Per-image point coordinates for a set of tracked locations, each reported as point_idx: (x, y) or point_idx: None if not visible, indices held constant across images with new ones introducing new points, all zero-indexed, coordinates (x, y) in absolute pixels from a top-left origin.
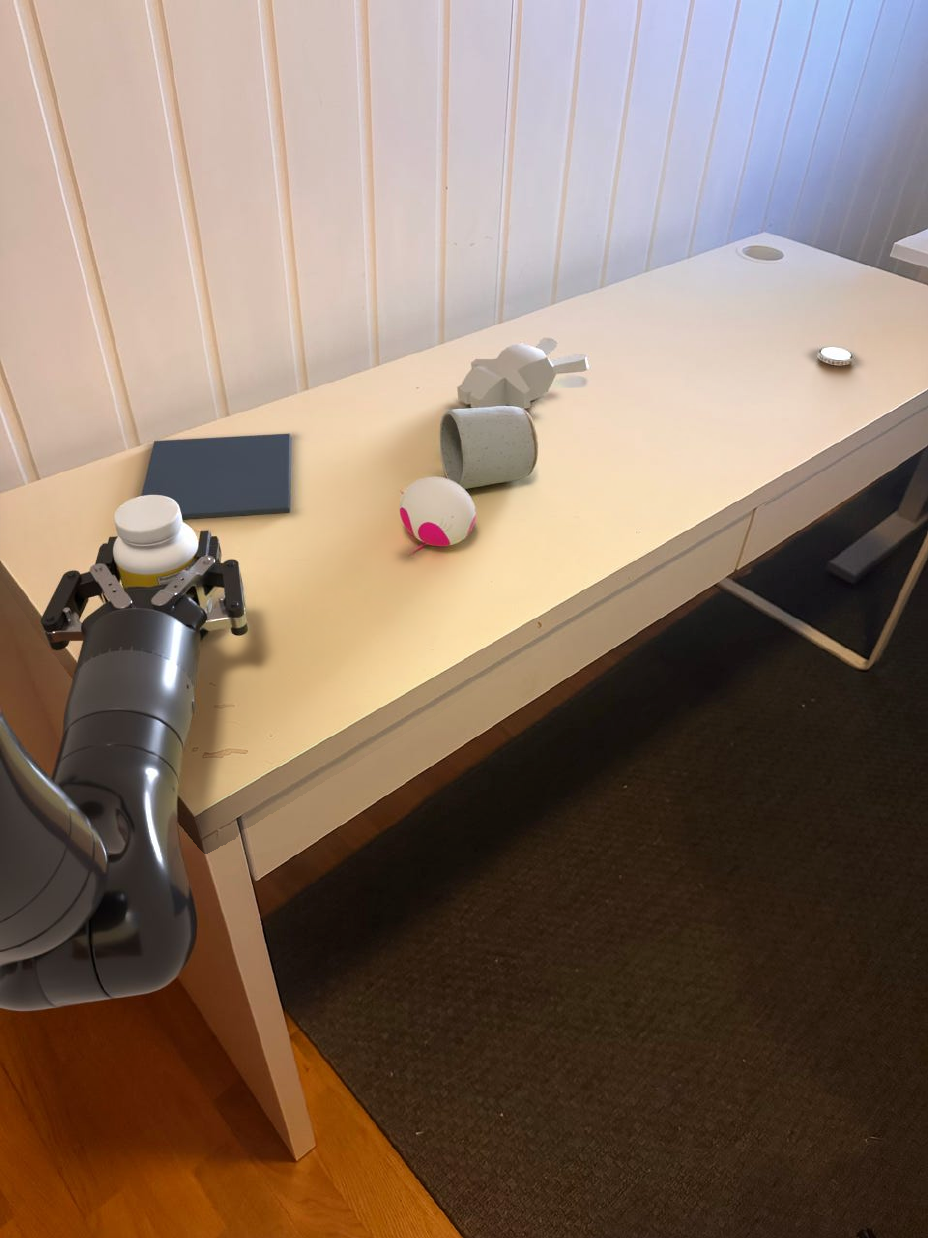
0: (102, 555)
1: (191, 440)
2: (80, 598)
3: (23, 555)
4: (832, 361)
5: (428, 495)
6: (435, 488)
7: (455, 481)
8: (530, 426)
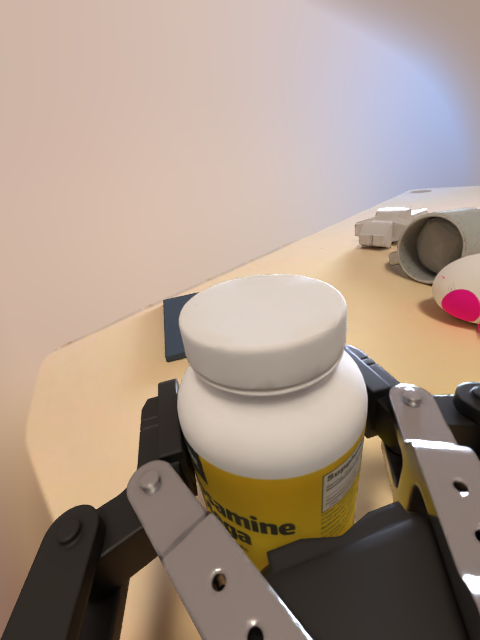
0: (151, 429)
1: (192, 294)
2: (107, 591)
3: (41, 425)
4: None
5: None
6: None
7: (425, 279)
8: None
